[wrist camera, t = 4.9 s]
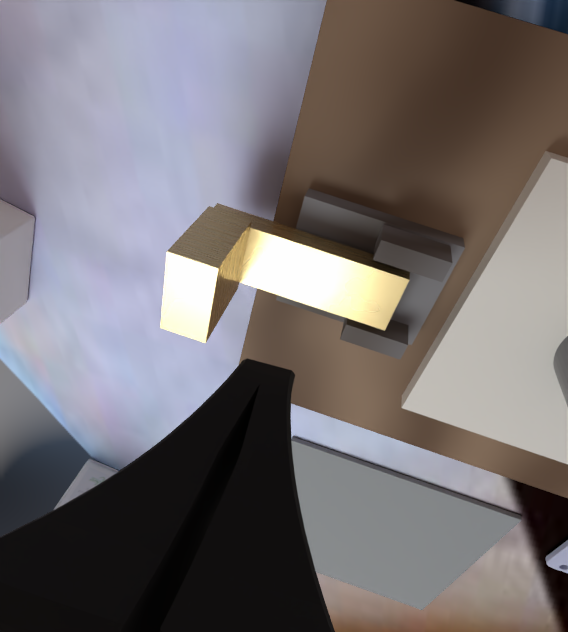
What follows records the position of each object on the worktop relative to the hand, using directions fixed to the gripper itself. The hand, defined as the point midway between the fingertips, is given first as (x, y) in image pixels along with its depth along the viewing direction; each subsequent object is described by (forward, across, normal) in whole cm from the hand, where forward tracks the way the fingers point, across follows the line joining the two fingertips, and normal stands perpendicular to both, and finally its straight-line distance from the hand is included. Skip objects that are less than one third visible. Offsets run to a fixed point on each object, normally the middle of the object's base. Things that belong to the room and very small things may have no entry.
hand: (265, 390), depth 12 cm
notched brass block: (+7, 0, 0) cm, 7 cm away
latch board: (+9, -8, +1) cm, 12 cm away
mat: (+9, -7, +21) cm, 24 cm away
